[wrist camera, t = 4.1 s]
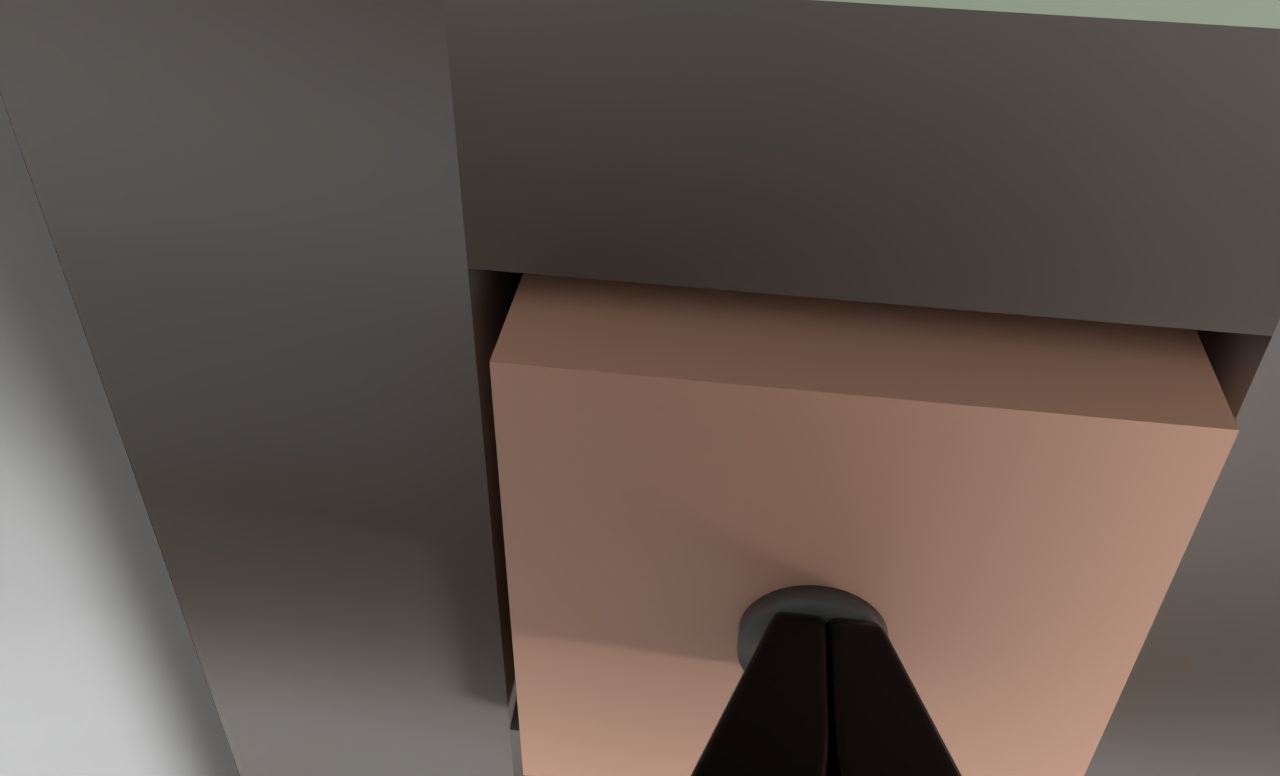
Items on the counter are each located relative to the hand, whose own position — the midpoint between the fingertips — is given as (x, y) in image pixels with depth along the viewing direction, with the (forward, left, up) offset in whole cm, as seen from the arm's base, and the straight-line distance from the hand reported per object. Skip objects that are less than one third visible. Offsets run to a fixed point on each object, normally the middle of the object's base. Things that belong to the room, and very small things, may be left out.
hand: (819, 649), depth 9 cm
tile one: (0, 0, -4) cm, 4 cm away
